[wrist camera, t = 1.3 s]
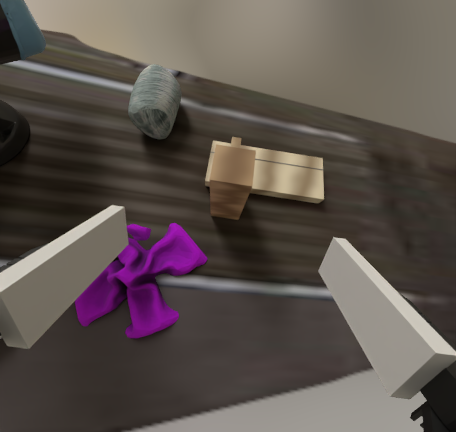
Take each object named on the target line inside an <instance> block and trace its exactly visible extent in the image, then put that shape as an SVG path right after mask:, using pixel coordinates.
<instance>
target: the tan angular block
mask: <svg viewBox="0 0 456 432" xmlns="http://www.w3.org/2000/svg"><path fill="white" fill-rule="evenodd" d="M240 145H241V138H236V137H232V142H231V147H230V146H224V145H217V144H216V148H215V153H214V158H213V164H212V169H211V174H210V179H209V180H210V204H211V216H216V217H222V218H229V219H236V220H238V219H239V217H240V215H241V212H242V210H243V208H244V205H245V203H246V200H247V198H248V196H249V193H250V191H251V189H252V186H253V176H254V166H255V156H256V151H255V150H249V149H242V148H240Z"/></svg>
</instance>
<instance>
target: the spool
mask: <svg viewBox="0 0 456 432" xmlns="http://www.w3.org/2000/svg"><path fill="white" fill-rule="evenodd" d="M180 101H181V89H180V86H179V84H178V82H177V80H176V79H175V78H174V76H173V75H172V74H171V73H170V72H169V71H168V70H166V69H165V68H163V67H162V66H159V65H155V64H153V65H150V66H148V67H147V68H145V69H144V70H143V71H142V72H141V74H140V75H139V77H138V79H137V81H136V83H135V85H134V87H133V91H132V94H131V97H130V102H129V109H128V112H129V117H130V119H131V120H132V122H133V123H134V125H135V126H136V127H137V128H138V129H139V130H141V131H142V132H143V133H145V134H146V135H148V136H150V137H152V138H155V139H165V138H167V136H168V135H169V134H170V132H171V130H172V127H173V124H174V121H175V118H176V115H177V112H178V109H179V105H180Z"/></svg>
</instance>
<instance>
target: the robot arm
mask: <svg viewBox="0 0 456 432" xmlns="http://www.w3.org/2000/svg"><path fill="white" fill-rule="evenodd" d="M45 46H46V43H45V39H44V36H43V34H42V32H41V30H40V29H39V27H38V25H37V23H36V21H35V20H34V18H33V16H32V14H31V12H30V11H29V9H28V7H27V5H26V3H25V2H24V0H0V64H5V63H9V62H13V61H18V60H25V59H26V57H29V56H32V55H35V54H38V53H41V52H42V51H44V49H45ZM28 136H29V125H28V122H27V120H26V119H25V118H24V117H23V116H22V115H21V114H20V113H19V112H18V111H16V110H15V109H14V108H13V107H12V106H10V105H9V104H7V103H5V102H4V101H2V100H0V165H2V164H4V163H6V162H8V161H9V160H11V159H12V158H13V157H14V156H16V155H17V154H18V153H19V152H20V151H21V149H22V148H23V147H24V145H25V144H26V142H27V139H28ZM128 244H129V243H128V234H127V225H126V216H125V207H121V206H114V205H112V206H110V207H108V208H107V209H105V210H103V211H102V212H100V213H98V214H97V215H95V216H93V217H92V218H90V219H88V220H87V221H85V222H84V223H82V224H80V225H79V226H77V227H75V228H74V229H72V230H70V231H69V232H67V233H65V234H64V235H62V236H60V237H59V238H57V239H55V240H54V241H52V242H50V243H49V244H48V243H47V244H44V245H42V246H39V247H36V248H34V249H31V250H29V251H28V252H26V253H24V254H23V255H21V256H19V257H18V259H14V260H12V261H11V262H9V263H7V265H6V266H5V265H4V266H2V267H0V336H1V337H2V338H3V340H4V342H5V343H6V345H7V346H10V347H18V348H26V349H30V347H31V346H32V345H33V344H34V343H35V342H36V341H37V340H38V339H39V338H40V337H41V336H42V335H43V334H44V333H45V332H46V331H47V330H48V329H49V327H50V326H51V325H52V324H53V323H54V322H55V321H56V320H57V319H58V318H59V317H60V316H61V315H62V314H63V313H64V312H65V311H66V310H67V309H68V307H69V306H70V305H71V304H72V303H73V302H74V301H75V300H76V299H77V298H78V297H79V296H80V295H81V294H82V293H83V292H84V291H85V290H86V289H87V287H88V286H89V285H90V284H91V283H92V282H93V281H94V280H95V279H96V278H97V277H98V276H99V275H100V274H101V273H102V272H103V271H104V270H105V268H106V267H107V266H108V265H109V264H110V263H111V262H112V261H113V260H114V259H115V258H116V257H117V256H118V255H119V254H120V253H121V252H122V251H123V250H124V248H125V247H126V246H127V245H128ZM319 273H320V275H321V277H322V278H323V280H324V282H325V284H326V286H327V287H328V289H329V291H330V293H331V294H332V296H333V298H334V300H335V301H336V303H337V305H338V307H339V308H340V310H341V312H342V314H343V315H344V317H345V319H346V321H347V322H348V324H349V326H350V328H351V330H352V331H353V333H354V335H355V337H356V338H357V340H358V342H359V344H360V345H361V347H362V349H363V351H364V352H365V354H366V356H367V358H368V359H369V361H370V363H371V365H372V366H373V368H374V370H375V372H376V373H377V375H378V377H379V379H380V380H381V382H382V384H383V386H384V387H385V389H386V391H387V393H388V394H389V396H390V397H396V398H404V399H411V398H412V397H413V396H414V395H416V394H417V393H418V392H419V391H421V393H422V394H423V395H424V397H425V398H426V400H427V401H426V402H425V403H424V404H422V405H421V406H420V407H419V408H418V409H416V410H415V411H414V412H412V414H411V417H410V418H411V419H412V420H413V421H415V420H416V419H418V418H419V417H420V416H423V423H422V424H420V426H421V427H422V428H424V432H456V346H455V345H454V344H453V343H452V342H451V341H450V340H449V339H448V338H447V337H446V336H445V335H444V334H443V333H442V332H441V331H440V330H439V329H438V328H437V327H436V326H435V325H434V324H432V323H431V321H430V320H429V319H428V318H427V317H426V316H425V315H423V314H422V312H421V311H420V310H419V309H418V308H417V307H416V306H415V305H414V304H413V303H412V302H411V301H410V300H408V299H407V298H405V297H404V296H403V295H401V294H400V293H398V292H397V291H396V290H395V289H394V288H393V287H392V286H391V285H390V284H389V283H388V282H387V281H386V280H385V279H384V278H383V277H382V276H381V275H380V274H379V273H378V272H377V271H376V270H375V269H374V268H373V267H372V266H371V265H370V264H369V263H368V262H367V261H366V260H365V259H364V258H363V257H362V255H361V254H360V253H359V252H358V251H357V250H356V249H355V248H354V247H353V246H352V245H351V244H350V243H349V242H348V241H347V240H346V239H341V238H334V237H333V240H332V242H331V244H330V246H329V248H328V251H327V253H326V255H325V257H324V260H323V262H322V264H321V266H320V268H319Z"/></svg>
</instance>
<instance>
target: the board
mask: <svg viewBox="0 0 456 432" xmlns="http://www.w3.org/2000/svg"><path fill="white" fill-rule="evenodd" d="M216 144H217V145H224V146H230V147H231V144H230V143H224V142H218V141H213V144H212V149H211V154H210V159H209V164H208V169H207V174H206V179H205V184H206V186H208V187H210V180H209V179H210V174H211V169H212V164H213V158H214V153H215V148H216ZM240 148H242V149H249V150H255V151H256V156H255V166H254V176H253V186H252V189H251V191H250V193H253V194H260V195H266V196H273V197H279V198H286V199H292V200H299V201H305V202H312V203H320V202H321V201H323V200H324V184H323V159H322V158H317V157H311V156H304V155H298V154H292V153H286V152H280V151H273V150H267V149H261V148H255V147H249V146H242V145H240Z"/></svg>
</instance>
